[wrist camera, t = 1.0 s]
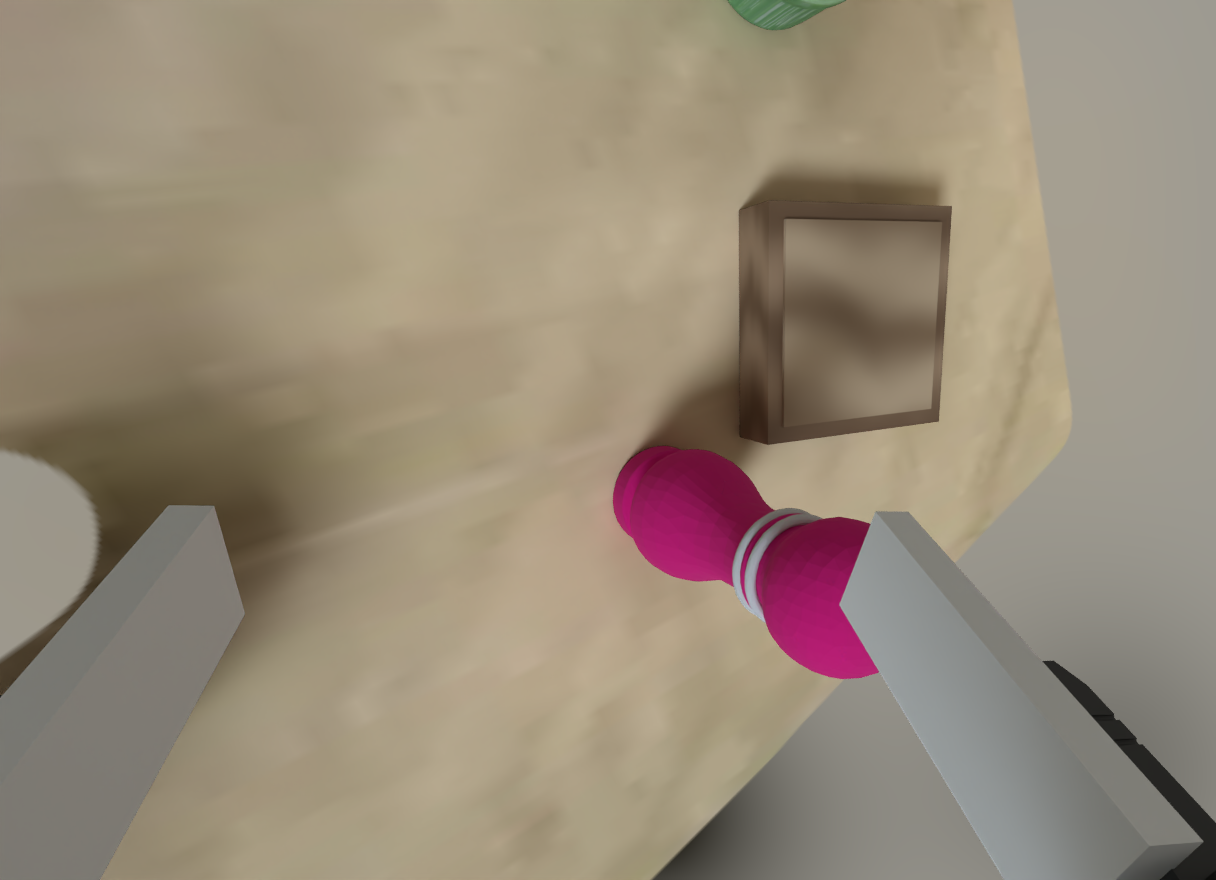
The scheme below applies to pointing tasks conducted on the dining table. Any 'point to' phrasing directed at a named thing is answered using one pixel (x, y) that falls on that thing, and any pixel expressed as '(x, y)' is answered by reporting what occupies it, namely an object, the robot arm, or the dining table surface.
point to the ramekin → (780, 11)
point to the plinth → (840, 317)
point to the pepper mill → (748, 550)
